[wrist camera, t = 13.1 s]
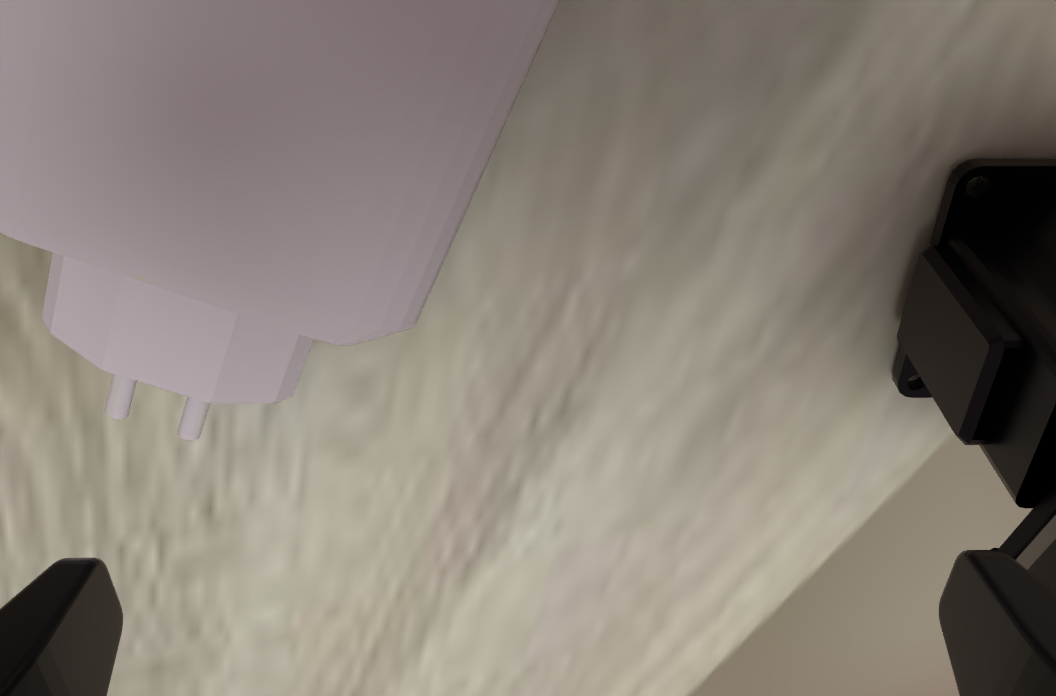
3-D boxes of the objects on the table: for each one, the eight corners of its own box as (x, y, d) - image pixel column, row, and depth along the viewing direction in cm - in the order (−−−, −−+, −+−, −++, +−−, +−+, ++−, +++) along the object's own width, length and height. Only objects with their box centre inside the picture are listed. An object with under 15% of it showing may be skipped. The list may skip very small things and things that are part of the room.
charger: (-4, 308, 23) (92, -390, 16) (350, 419, 26) (588, -142, 18) (-106, 430, 20) (-47, -417, 12) (322, 549, 22) (611, -97, 14)
